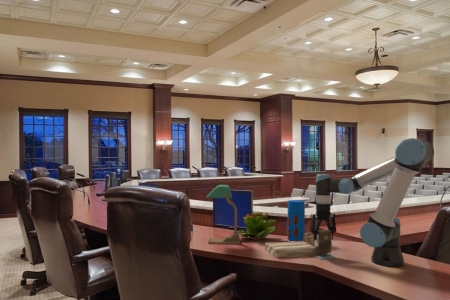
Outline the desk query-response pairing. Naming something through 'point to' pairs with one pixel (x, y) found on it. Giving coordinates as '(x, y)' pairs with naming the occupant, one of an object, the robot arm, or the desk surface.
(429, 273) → the desk surface
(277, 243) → the log raft
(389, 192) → the robot arm
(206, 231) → the desk surface
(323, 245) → the marking gauge
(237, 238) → the banker's lamp
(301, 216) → the blue slotted block
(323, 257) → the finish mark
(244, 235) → the potted flower
